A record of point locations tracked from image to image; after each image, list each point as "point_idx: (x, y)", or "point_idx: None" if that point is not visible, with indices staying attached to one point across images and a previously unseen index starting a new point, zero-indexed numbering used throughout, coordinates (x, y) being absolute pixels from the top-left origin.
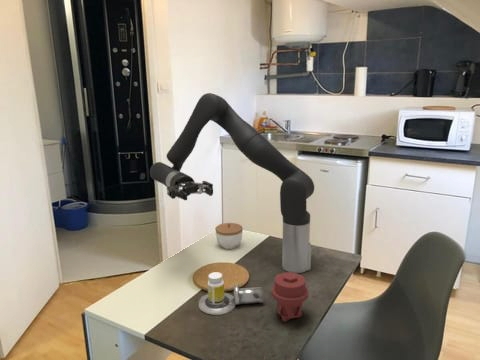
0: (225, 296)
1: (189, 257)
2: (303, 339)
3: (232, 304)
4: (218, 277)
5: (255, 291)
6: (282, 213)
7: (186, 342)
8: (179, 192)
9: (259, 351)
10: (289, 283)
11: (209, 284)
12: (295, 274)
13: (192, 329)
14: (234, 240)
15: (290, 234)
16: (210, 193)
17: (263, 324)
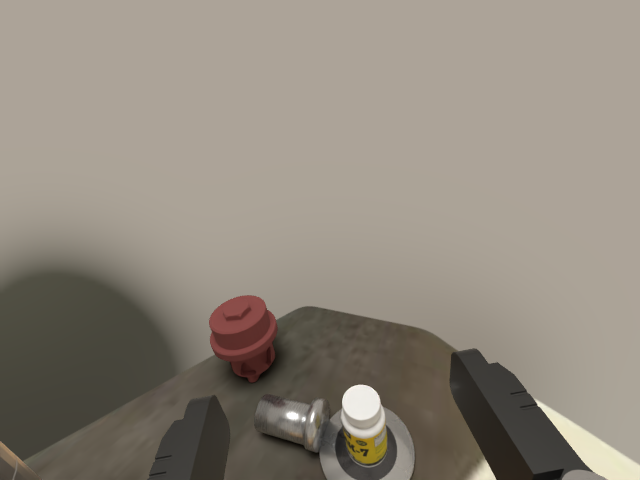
0: (339, 459)
1: None
2: (276, 320)
3: (334, 422)
4: (355, 387)
5: (279, 398)
6: None
7: (441, 355)
8: (571, 468)
9: (339, 316)
10: (248, 302)
11: (381, 405)
12: (224, 308)
13: (431, 382)
14: None
15: (17, 473)
16: (224, 415)
17: (306, 358)
